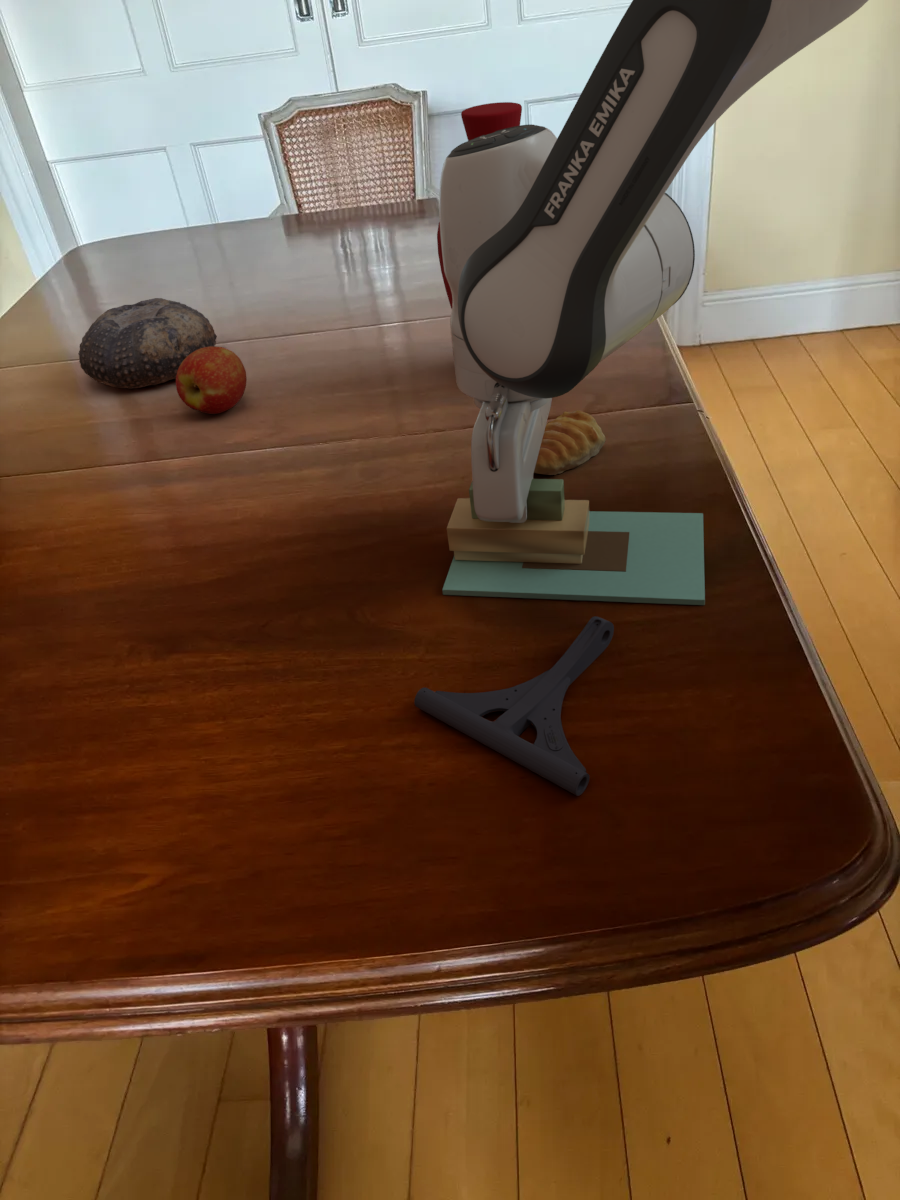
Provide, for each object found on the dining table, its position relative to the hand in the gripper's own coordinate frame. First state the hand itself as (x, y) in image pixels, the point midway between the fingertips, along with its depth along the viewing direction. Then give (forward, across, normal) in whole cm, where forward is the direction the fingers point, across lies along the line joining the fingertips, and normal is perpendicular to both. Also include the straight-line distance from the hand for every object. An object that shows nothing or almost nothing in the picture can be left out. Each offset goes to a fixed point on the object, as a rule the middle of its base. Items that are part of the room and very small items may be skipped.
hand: (520, 507), depth 79 cm
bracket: (+5, -18, -5) cm, 19 cm away
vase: (+5, +39, +7) cm, 40 cm away
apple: (+5, +30, +43) cm, 53 cm away
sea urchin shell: (+6, +43, +59) cm, 73 cm away
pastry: (+5, +18, -2) cm, 19 cm away
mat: (+5, 0, -5) cm, 7 cm away
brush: (+4, 0, 0) cm, 4 cm away
